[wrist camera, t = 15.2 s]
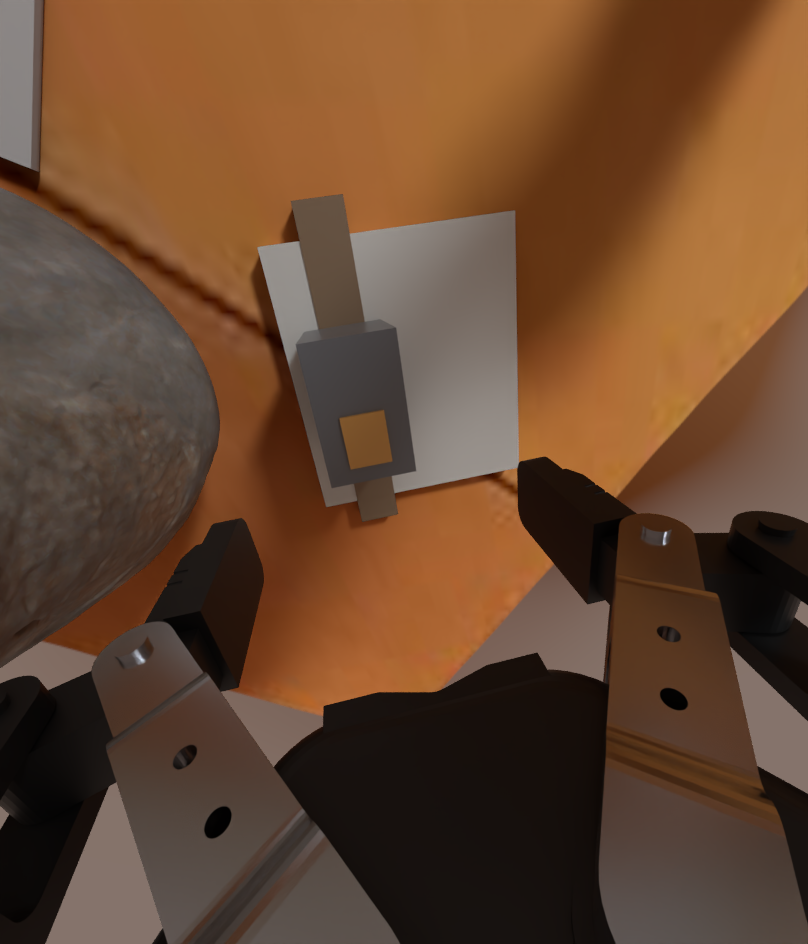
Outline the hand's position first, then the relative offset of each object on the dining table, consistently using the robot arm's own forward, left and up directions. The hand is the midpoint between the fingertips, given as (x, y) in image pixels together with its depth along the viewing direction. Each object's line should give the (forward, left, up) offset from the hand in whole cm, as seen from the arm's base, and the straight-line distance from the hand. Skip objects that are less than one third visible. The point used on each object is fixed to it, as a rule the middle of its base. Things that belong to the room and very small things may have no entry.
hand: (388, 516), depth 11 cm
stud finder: (0, 0, -18) cm, 18 cm away
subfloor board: (-4, 0, -19) cm, 20 cm away
